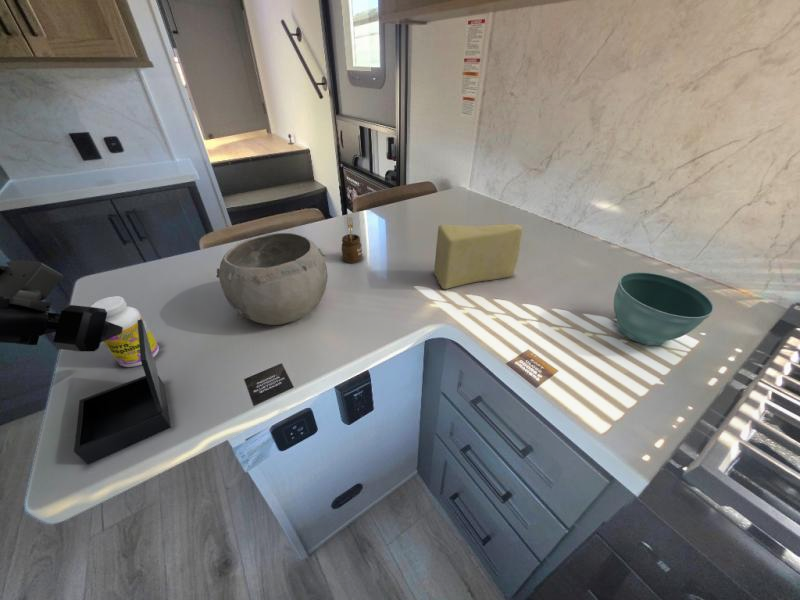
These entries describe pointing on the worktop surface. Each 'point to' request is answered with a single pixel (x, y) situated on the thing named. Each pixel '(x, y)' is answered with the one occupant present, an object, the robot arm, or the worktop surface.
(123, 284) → the worktop surface
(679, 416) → the worktop surface
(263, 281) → the bowl
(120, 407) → the black open box
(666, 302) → the teal green bowl
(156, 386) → the lid
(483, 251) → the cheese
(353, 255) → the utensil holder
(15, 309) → the robot arm
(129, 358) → the supplement bottle
